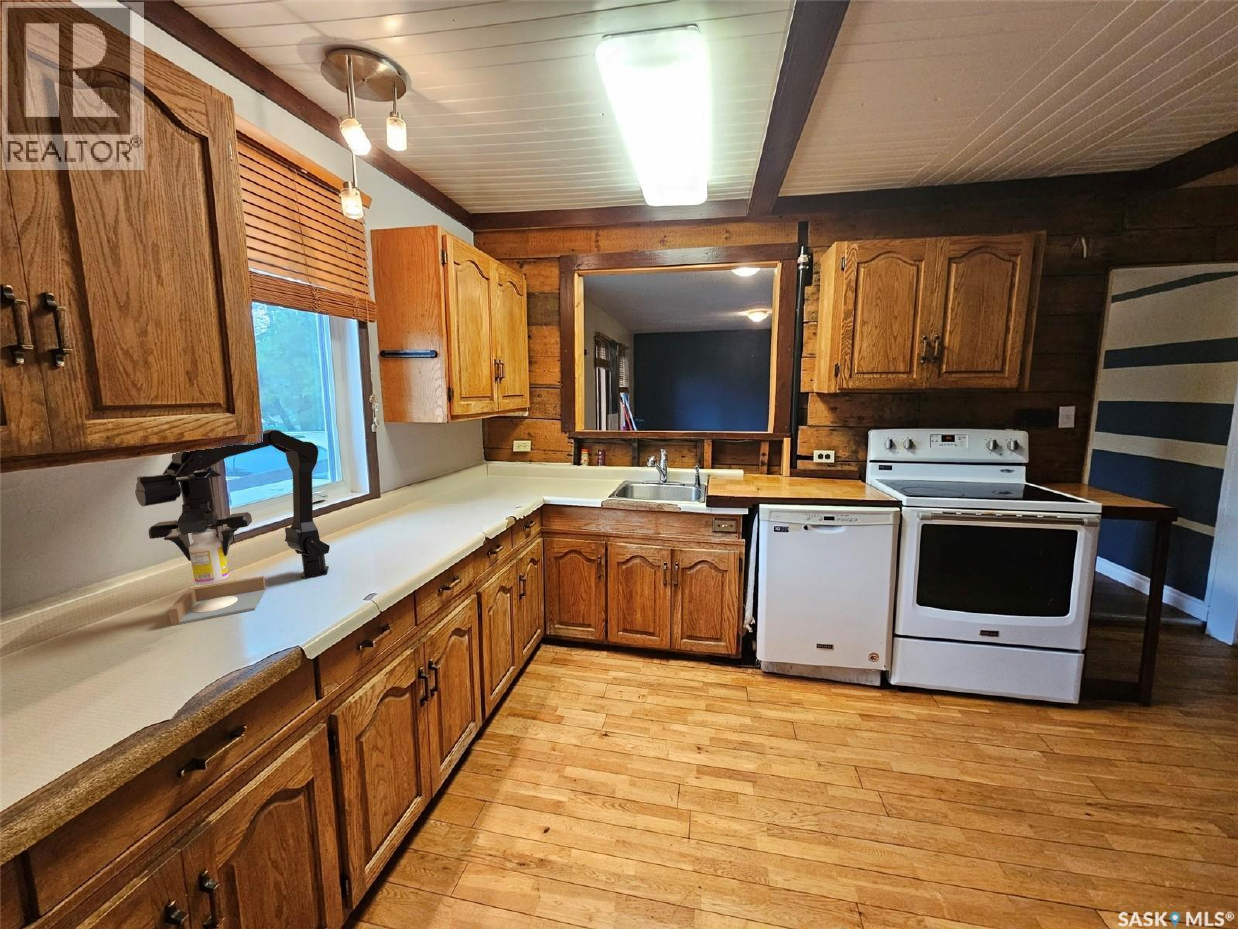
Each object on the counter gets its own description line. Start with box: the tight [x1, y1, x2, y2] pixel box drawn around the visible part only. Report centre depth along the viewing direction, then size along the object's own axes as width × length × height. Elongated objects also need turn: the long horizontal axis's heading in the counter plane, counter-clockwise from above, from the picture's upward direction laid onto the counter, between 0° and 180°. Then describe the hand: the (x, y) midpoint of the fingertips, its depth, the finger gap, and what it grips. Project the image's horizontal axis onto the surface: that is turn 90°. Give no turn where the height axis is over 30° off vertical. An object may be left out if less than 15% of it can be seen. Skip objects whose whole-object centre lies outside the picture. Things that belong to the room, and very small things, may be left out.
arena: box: [168, 575, 267, 627], centre depth 122 cm, size 14×16×4 cm
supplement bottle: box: [189, 528, 230, 586], centre depth 120 cm, size 7×7×13 cm
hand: (208, 557), depth 120 cm, fingers closed on supplement bottle, 7 cm apart
